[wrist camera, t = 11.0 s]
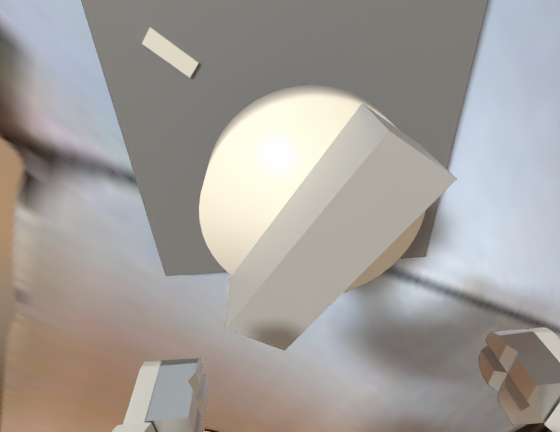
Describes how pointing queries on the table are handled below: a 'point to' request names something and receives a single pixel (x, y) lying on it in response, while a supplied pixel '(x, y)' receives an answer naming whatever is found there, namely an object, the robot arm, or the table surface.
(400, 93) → the lock base
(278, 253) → the cap
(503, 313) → the table surface
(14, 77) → the table surface
